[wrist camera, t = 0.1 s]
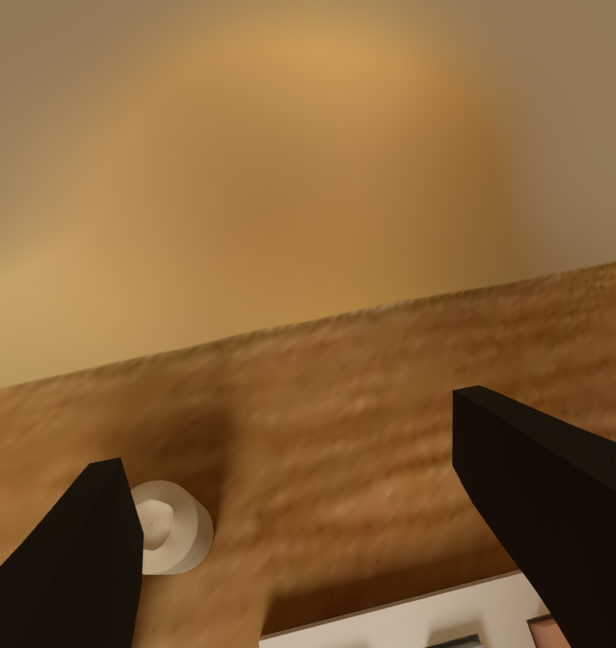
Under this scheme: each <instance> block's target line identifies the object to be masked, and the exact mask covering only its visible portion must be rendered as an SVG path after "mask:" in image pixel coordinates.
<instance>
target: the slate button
mask: <svg viewBox="0 0 616 648" xmlns="http://www.w3.org/2000/svg"><path fill="white" fill-rule="evenodd" d="M440 648H484V645H483V644H481V643H478V642H475V641H472V640H465V641H462V642H458V643H454V644H451V645H447V646H443V647H440Z"/></svg>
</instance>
